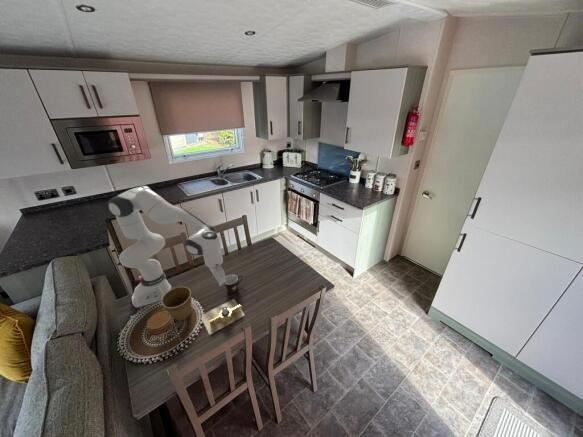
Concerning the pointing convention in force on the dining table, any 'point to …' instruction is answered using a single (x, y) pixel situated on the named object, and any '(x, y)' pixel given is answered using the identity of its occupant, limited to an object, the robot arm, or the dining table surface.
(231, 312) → the hinge
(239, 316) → the board
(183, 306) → the plant pot
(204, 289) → the dining table surface
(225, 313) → the pin
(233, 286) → the coffee mug
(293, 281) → the dining table surface
